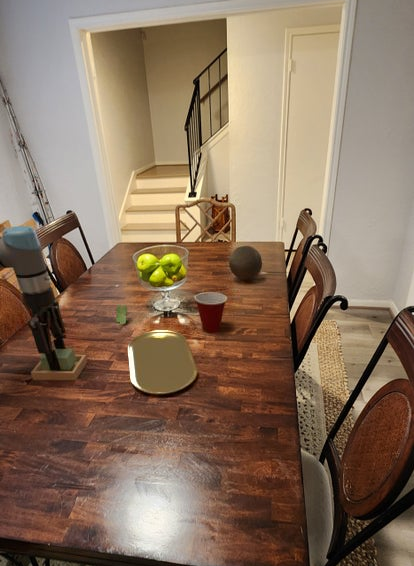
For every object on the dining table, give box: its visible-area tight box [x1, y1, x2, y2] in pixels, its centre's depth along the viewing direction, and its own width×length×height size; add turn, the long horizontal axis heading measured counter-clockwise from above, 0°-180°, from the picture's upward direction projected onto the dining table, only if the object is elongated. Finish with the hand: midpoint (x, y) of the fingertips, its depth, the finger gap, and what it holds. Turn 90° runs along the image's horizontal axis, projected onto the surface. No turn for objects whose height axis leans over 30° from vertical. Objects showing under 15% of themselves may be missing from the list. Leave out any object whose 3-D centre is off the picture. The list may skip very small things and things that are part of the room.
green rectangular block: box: [39, 348, 76, 370], centre depth 107 cm, size 8×5×4 cm, turn 86°
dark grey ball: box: [228, 245, 263, 281], centre depth 162 cm, size 14×14×15 cm
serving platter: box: [127, 329, 199, 396], centre depth 111 cm, size 19×35×2 cm, turn 13°
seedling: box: [115, 304, 129, 326], centre depth 136 cm, size 7×8×6 cm
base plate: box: [30, 354, 88, 381], centre depth 109 cm, size 13×10×3 cm
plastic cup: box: [194, 291, 228, 334], centre depth 124 cm, size 11×11×12 cm
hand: (59, 364), depth 108 cm, fingers closed on green rectangular block, 5 cm apart
